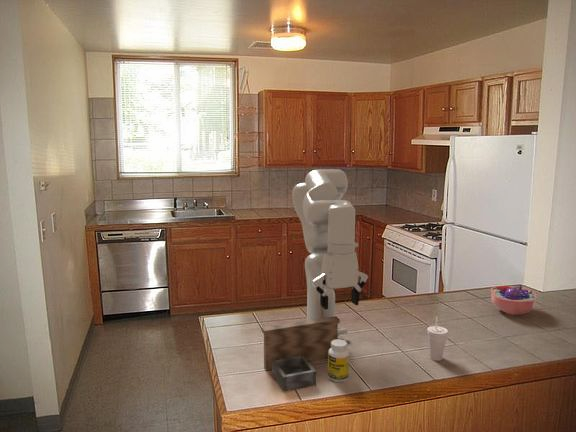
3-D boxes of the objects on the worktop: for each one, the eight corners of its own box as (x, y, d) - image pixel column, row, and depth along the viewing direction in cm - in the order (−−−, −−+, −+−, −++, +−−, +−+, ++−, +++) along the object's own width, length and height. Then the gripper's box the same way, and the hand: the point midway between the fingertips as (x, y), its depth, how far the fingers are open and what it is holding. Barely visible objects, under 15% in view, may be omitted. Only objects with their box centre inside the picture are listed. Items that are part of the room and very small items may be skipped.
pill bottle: (325, 380, 137) (325, 345, 135) (331, 370, 143) (331, 336, 141) (345, 384, 135) (346, 348, 133) (350, 374, 140) (351, 340, 138)
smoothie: (422, 353, 153) (424, 313, 151) (441, 352, 154) (444, 312, 151) (430, 363, 147) (432, 321, 145) (449, 362, 148) (452, 320, 145)
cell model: (537, 308, 193) (540, 282, 191) (532, 324, 176) (535, 296, 174) (493, 300, 202) (495, 275, 200) (485, 315, 185) (487, 288, 183)
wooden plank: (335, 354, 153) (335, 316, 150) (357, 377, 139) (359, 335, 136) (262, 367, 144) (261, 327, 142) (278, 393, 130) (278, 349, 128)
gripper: (361, 242, 138) (360, 298, 141) (307, 247, 132) (307, 305, 135) (374, 248, 131) (372, 306, 134) (318, 253, 125) (317, 314, 128)
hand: (339, 305), depth 134 cm, fingers open, 9 cm apart
